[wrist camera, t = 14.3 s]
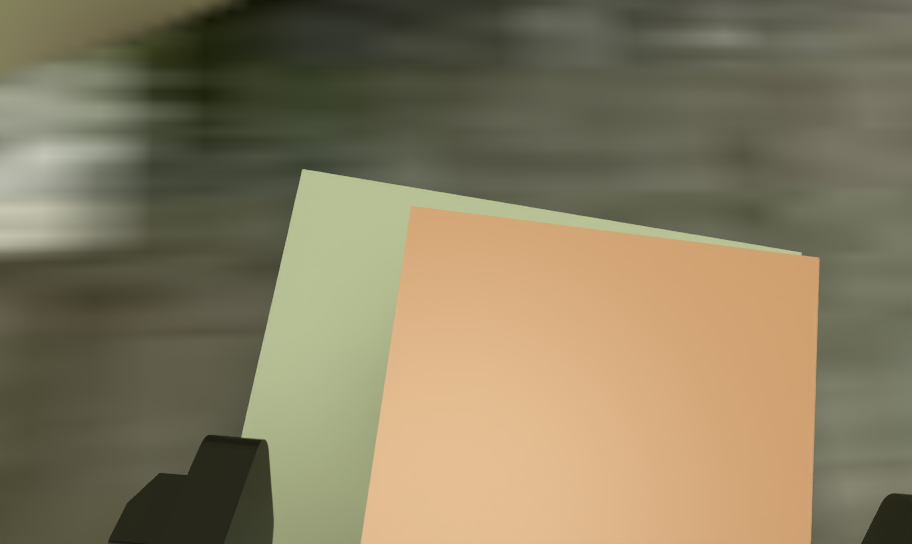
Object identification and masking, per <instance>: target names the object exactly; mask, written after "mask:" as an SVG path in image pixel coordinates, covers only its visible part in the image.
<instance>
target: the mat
mask: <svg viewBox="0 0 912 544" xmlns="http://www.w3.org/2000/svg"><path fill="white" fill-rule="evenodd" d="M411 206H416V207H424V208H432V209H440V210H448V211H456V212H464V213H471V214H479V215H487V216H495V217H503V218H511V219H518V220H526V221H534V222H542V223H550V224H558V225H566V226H573V227H581V228H589V229H597V230H605V231H613V232H621V233H628V234H636V235H644V236H652V237H660V238H668V239H676V240H683V241H691V242H699V243H707V244H715V245H723V246H731V247H738V248H746V249H754V250H762V251H770V252H778V253H785V254H793V255H801V254H802V253H800V252H794V251H788V250H782V249H776V248H771V247H765V246H759V245H753V244H747V243H741V242H735V241H729V240H723V239H717V238H711V237H705V236H699V235H693V234H687V233H681V232H675V231H669V230H663V229H657V228H651V227H645V226H639V225H633V224H627V223H621V222H615V221H609V220H603V219H597V218H591V217H585V216H579V215H573V214H567V213H561V212H555V211H549V210H543V209H537V208H531V207H525V206H520V205H514V204H508V203H502V202H496V201H490V200H484V199H478V198H472V197H466V196H460V195H454V194H448V193H442V192H436V191H430V190H424V189H418V188H412V187H406V186H400V185H394V184H388V183H382V182H376V181H370V180H364V179H358V178H352V177H346V176H340V175H334V174H328V173H322V172H316V171H310V170H304V169H302V173H301V178H300V182H299V187H298V191H297V195H296V200H295V204H294V209H293V213H292V217H291V222H290V226H289V230H288V235H287V239H286V244H285V248H284V252H283V257H282V261H281V265H280V270H279V274H278V279H277V283H276V287H275V292H274V296H273V300H272V305H271V309H270V314H269V318H268V322H267V327H266V331H265V336H264V340H263V344H262V349H261V353H260V357H259V362H258V366H257V371H256V375H255V379H254V384H253V388H252V392H251V397H250V401H249V406H248V410H247V414H246V419H245V423H244V427H243V432H242V436H241V438H253V439H265V440H266V441H267V443H268V448H269V460H270V473H271V487H272V500H273V513H274V532H273V542H272V544H361V538H362V531H363V524H364V518H365V511H366V504H367V498H368V491H369V484H370V478H371V471H372V464H373V458H374V451H375V444H376V438H377V431H378V424H379V418H380V411H381V404H382V398H383V391H384V384H385V377H386V371H387V364H388V357H389V351H390V344H391V337H392V331H393V324H394V317H395V311H396V304H397V297H398V291H399V284H400V277H401V271H402V264H403V257H404V251H405V244H406V237H407V231H408V224H409V217H410V210H411Z"/></svg>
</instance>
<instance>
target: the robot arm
mask: <svg viewBox="0 0 912 544" xmlns="http://www.w3.org/2000/svg"><path fill="white" fill-rule="evenodd" d="M273 532H274V513H273V500H272V487H271V473H270V460H269V448H268V443H267V441H266V440H265V439H253V438H241V437H229V436H217V435H208V436H206V437H205V438H204V440H203V441H202V443H201V445H200V447H199V450H198V452H197V454H196V456H195V459H194V461H193V463H192V466H191V468H190V470H189V472H188V475H178V474H166V473H159V474H158V475H157V476H156V477H155V478H154V479H153V480H152V481H151V482H149V483H148V484H147V485H146V486H145V487H144V488H143V489H142V490H141V491H140V492H139V493H138V494H137V495H136V496H134V497H133V498H132V499H131V500H130V501H129V502H128V503H127V505H126V507H125V509H124V511H123V513H122V515H121V517H120V519H119V520H118V522H117V524H116V526H115V528H114V530H113V532H112V534H111V536H110V538H109V540H108V541H109V543H108V544H272V542H273ZM861 544H912V495H908V494H895V493H893V494H890V495H888V496H887V497H886V498H885V499H884V500H883V502H882V503H881V505H880V507H879V509H878V511H877V513H876V515H875V517H874V519H873V521H872V523H871V525H870V527H869V529H868V531H867V533H866V535H865V537H864V539H863V541H862V543H861Z"/></svg>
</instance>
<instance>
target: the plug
mask: <svg viewBox="0 0 912 544" xmlns="http://www.w3.org/2000/svg"><path fill="white" fill-rule="evenodd" d="M818 289H819V258H817V257H809V256H801V255H793V254H785V253H778V252H770V251H762V250H754V249H746V248H738V247H731V246H723V245H715V244H707V243H699V242H691V241H683V240H676V239H668V238H660V237H652V236H644V235H636V234H628V233H621V232H613V231H605V230H597V229H589V228H581V227H573V226H566V225H558V224H550V223H542V222H534V221H526V220H518V219H511V218H503V217H495V216H487V215H479V214H471V213H464V212H456V211H448V210H440V209H432V208H424V207H416V206H411V210H410V217H409V224H408V231H407V237H406V244H405V251H404V257H403V264H402V271H401V277H400V284H399V291H398V297H397V304H396V311H395V317H394V324H393V331H392V337H391V344H390V351H389V357H388V364H387V371H386V377H385V384H384V391H383V398H382V404H381V411H380V418H379V424H378V431H377V438H376V444H375V451H374V458H373V464H372V471H371V478H370V484H369V491H368V498H367V504H366V511H365V518H364V524H363V531H362V538H361V544H811V521H812V488H813V454H814V421H815V388H816V355H817V322H818Z"/></svg>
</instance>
